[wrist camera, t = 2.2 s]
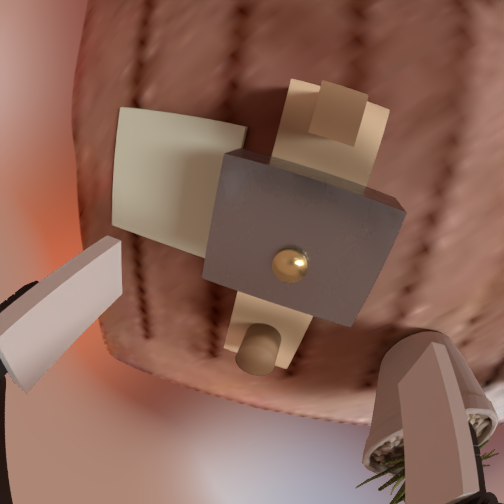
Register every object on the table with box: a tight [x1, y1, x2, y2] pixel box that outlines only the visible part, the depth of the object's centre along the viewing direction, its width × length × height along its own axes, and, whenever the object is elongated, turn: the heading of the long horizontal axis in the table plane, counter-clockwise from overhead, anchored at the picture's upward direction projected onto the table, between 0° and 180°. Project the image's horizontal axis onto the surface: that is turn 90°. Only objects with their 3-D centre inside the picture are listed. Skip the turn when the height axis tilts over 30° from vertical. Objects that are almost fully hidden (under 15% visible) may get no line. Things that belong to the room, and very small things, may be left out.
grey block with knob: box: [202, 148, 407, 327], centre depth 17 cm, size 8×10×3 cm
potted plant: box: [357, 331, 498, 504], centre depth 17 cm, size 13×14×20 cm
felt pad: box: [112, 107, 248, 258], centre depth 24 cm, size 12×12×1 cm
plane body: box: [224, 79, 390, 376], centre depth 19 cm, size 22×6×10 cm, turn 167°
